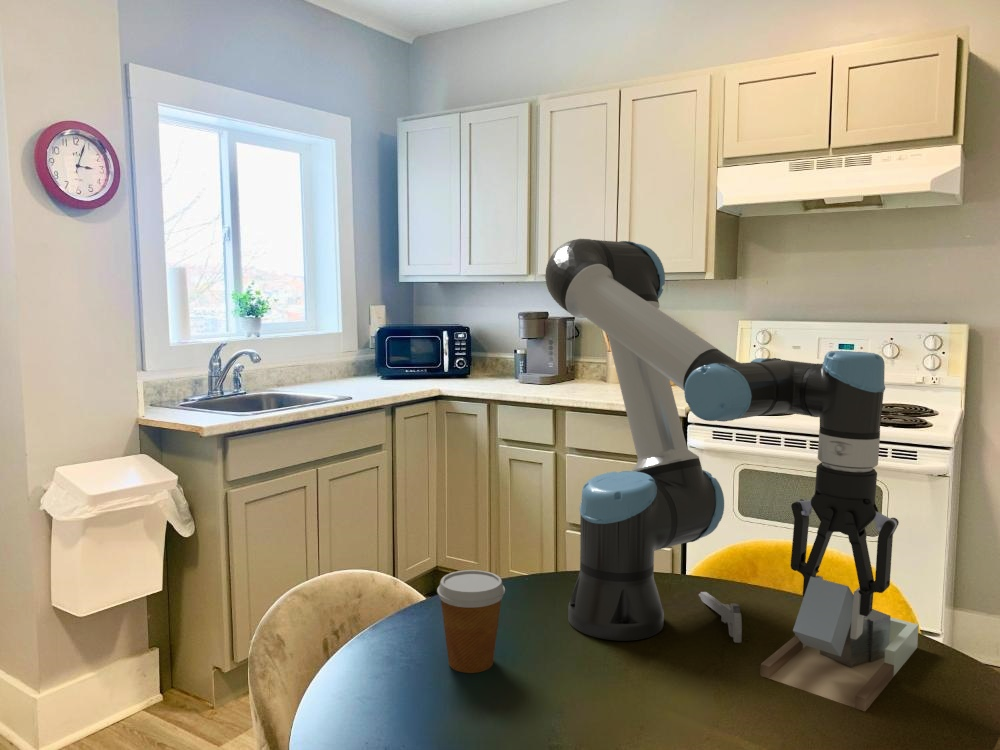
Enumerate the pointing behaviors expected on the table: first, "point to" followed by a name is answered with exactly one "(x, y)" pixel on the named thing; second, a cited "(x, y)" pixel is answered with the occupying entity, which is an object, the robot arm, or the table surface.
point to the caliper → (726, 615)
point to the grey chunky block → (878, 634)
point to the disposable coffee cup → (470, 618)
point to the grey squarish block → (854, 648)
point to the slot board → (827, 674)
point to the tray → (900, 642)
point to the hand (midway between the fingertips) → (834, 628)
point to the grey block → (825, 616)
